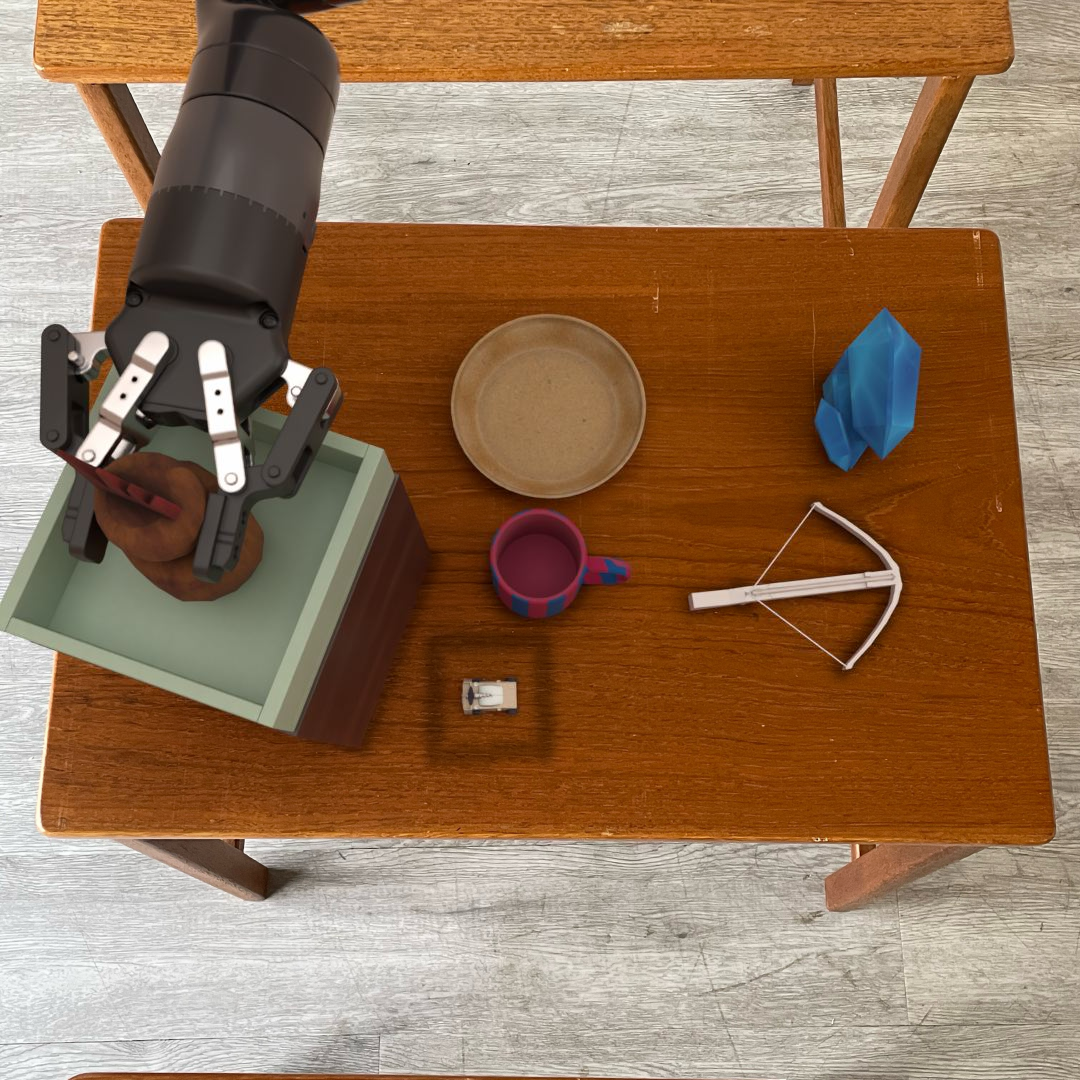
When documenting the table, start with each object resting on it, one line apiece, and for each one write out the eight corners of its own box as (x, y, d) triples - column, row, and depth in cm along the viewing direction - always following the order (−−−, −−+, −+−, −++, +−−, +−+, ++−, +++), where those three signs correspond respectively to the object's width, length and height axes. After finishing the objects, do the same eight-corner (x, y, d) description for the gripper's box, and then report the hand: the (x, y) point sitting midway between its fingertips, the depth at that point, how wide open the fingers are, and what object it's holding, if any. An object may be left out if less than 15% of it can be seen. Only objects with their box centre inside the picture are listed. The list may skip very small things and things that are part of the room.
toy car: (517, 714, 76) (517, 712, 74) (462, 715, 76) (460, 714, 74) (516, 678, 76) (516, 675, 74) (461, 679, 76) (460, 677, 74)
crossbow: (875, 500, 81) (886, 493, 79) (909, 662, 78) (921, 659, 76) (675, 522, 79) (681, 515, 77) (702, 688, 76) (709, 685, 74)
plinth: (167, 679, 76) (29, 641, 54) (247, 492, 79) (146, 387, 58) (359, 748, 75) (296, 737, 54) (432, 556, 78) (399, 473, 57)
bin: (34, 639, 54) (-12, 626, 50) (148, 391, 57) (115, 357, 53) (293, 732, 54) (272, 728, 49) (395, 475, 57) (384, 449, 52)
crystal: (828, 468, 73) (830, 297, 73) (796, 475, 82) (798, 322, 82) (933, 469, 73) (935, 299, 73) (889, 476, 82) (892, 324, 82)
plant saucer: (432, 352, 82) (429, 338, 79) (611, 308, 83) (614, 293, 80) (479, 528, 79) (478, 519, 76) (665, 479, 80) (670, 470, 77)
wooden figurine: (130, 542, 55) (-14, 460, 40) (214, 469, 56) (103, 362, 41) (215, 634, 54) (98, 583, 39) (298, 557, 55) (215, 481, 40)
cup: (503, 522, 79) (502, 499, 72) (632, 551, 79) (642, 530, 72) (483, 607, 77) (479, 591, 71) (614, 637, 77) (623, 623, 70)
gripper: (49, 156, 46) (-60, 525, 42) (367, 205, 46) (286, 580, 42) (114, 240, 53) (26, 561, 50) (388, 283, 53) (321, 609, 49)
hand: (146, 568), depth 46 cm, fingers closed on wooden figurine, 5 cm apart
